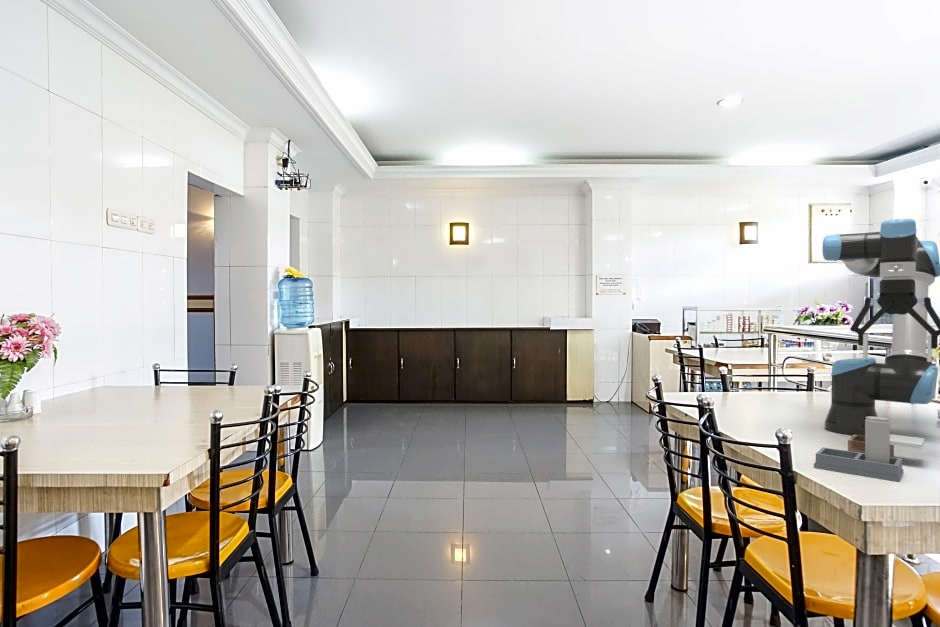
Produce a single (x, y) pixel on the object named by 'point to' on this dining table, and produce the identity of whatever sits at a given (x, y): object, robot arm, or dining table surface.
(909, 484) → the dining table surface
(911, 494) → the dining table surface
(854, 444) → the tray
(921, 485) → the dining table surface
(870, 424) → the beverage can
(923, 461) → the dining table surface
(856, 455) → the socket board
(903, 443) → the lid
